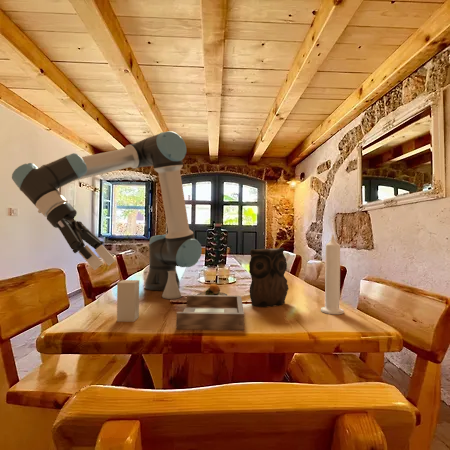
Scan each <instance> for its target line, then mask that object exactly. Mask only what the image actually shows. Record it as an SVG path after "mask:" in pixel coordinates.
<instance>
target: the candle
mask: <svg viewBox="0 0 450 450" xmlns="http://www.w3.org/2000/svg"><path fill="white" fill-rule="evenodd" d="M324 266H325V267H324V268H325V271H324V272H325V274H324V275H325V276H324V279H325V281H324V284H325V285H324V289H325V291H324V306H322V307H321V308H320V311H321V312H322V313H325V314H327V315H342V314H344V313H345V310H344V308H341V307H340V305H341V304H340V301H341V295H340V294H341V293H340V292H341V288H340V287H341V244H339V243H338V242H337V241H336V239H335V235H334V234H332V235H331V237H330V241H329V242H327V243H326V244H325V264H324Z"/></svg>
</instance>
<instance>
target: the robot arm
mask: <svg viewBox="0 0 450 450" xmlns="http://www.w3.org/2000/svg"><path fill="white" fill-rule="evenodd" d="M186 155H187V145H186V143H185V139H184V138H183V137H182V136H180V135H179V134H178V133H177V132H175V131H171V130H169V131H164V132H163V131H162V132H160V133H158V134H155V135H153V136H149V137H146V138H145V139H142V140H140V141H137V142H135V143H130V144H127V145H125V147H124V148H121V149H115V150H110V151H106V152H100V153H96V154H90V155H87V156H80V155H79V154H78V153H70V154H68V155H65V156H62V157H60V158H58V159H56V160H54V161H50V162H49V163H47V164H42V165H40V167H39V166H37V165H36V164H35V163H33V162H29V163H24V164H21V165H19V166H18V167H16V168H15V169H14V171H13V172H12V174H11V180H12V181H13V183H14V184H15V185H16V186H17V187H18V189H19V191H20V192H22V193H23V194H24V195H25V196H26V198H27V199H28V200H29V201H30V202H31V203H32V205H34V206H35V208H37V209H38V211H37V212H38V213H39V214H42V216H44V217H46V220H47V221H48V223H49V224H51V226H52V227H53V228H54V229H55V228H56V229H58V230H59V232H60V233H61V234H62V235H63V238H64V239H65V241H66V242H67V244H68V246H69V247H70V249H71V250H72V252H73V254H77V253H78V254H79V255H81V257H82V258H83V259H84V260H85V262H87V264H88V265H89V266H90V267H91V268H92V269H93V271H96V270H97V269H99V267H101V265H103V264H104V263H106V264H107V266H108V267H110V266H111V265H113V263H114V262H115V261H116V258H115V257H114V256H113V255H112V254H111V252H109V250H108V249H107V248H106V247H105V245H104V244H105V242H104V241H103V240H101V239H100V238H98V237H97V236H96V235H95V234H94V233H93V232H92V231H91V230H90V229H88V228H87V227H86V225H85V224H83V223H82V221H79V220H78V221H77V220H76V219H75V217H76V216H77V213H78V212H77V210H76V209H75V208H74V207H73V205H71V204H70V203H69V202H68V200H67V198H66V197H64V195H63V194H62V193H61V192H60V191H59V190H58V189H60V188H61V187H63V186H66V185H67V184H69V183H72V182H75V181H80V180H83V179H86V178H87V179H88V178H91V177H95V176H96V177H97V176H99V175H103V174H108V173H112V172H115V171H120V170H123V169H127V168H131V169H138V168H145V167H153V170H154V172H155V173H157V174H158V178H159V184H160V191H161V197H162V203H163V209H164V214H165V220H166V227H167V234H160V235H159V234H158V235H153V236H151V237H150V238H149V243H148V244H149V245H148V246H149V249H148V250H149V256H148V257H149V258H148V259H149V263H148V264H149V267H148V272H147V276H146V279H145V281H144V289H146V290H151V291H164V289H165V287H166V284H167V281H168V271H176V282H177V285H178V288H179V289H180V287H181V283H180V279H179V275H178V272H177V267H180V268H191V267H193V266H195V265H196V264H198V262H199V260H200V259H201V256H202V252H203V251H202V250H203V248H202V244H201V243H200V242H199V241H198V239H196V238H195V235H194V234H195V233H194V231H193V230H191V229H190V225H189V219H188V213H187V208H186V199H185V194H184V188H183V187H184V186H183V182H182V175H181V170H182V168H183V167H184V162H183V160H184V159H185V157H186ZM85 242H86V244H88V245H86V244H85ZM90 246H91V248H93V249H94V251H93V250H92V249H91V248H90ZM95 253H97V254H95ZM99 257H100V258H101V259H102V260H103V261H102V260H101V259H100V258H99Z"/></svg>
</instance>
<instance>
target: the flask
mask: <svg viewBox="0 0 450 450" xmlns="http://www.w3.org/2000/svg"><path fill="white" fill-rule="evenodd" d="M176 272H177V270H176V271H168V281H167V284H166V287H165V289H164V290H163V292H162V295H161V297H162V298H163V299H166V300H174V299H179V298H182V296H183V295H182V294H181V291H180V287H179V288H178V285H177V282H176Z"/></svg>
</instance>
